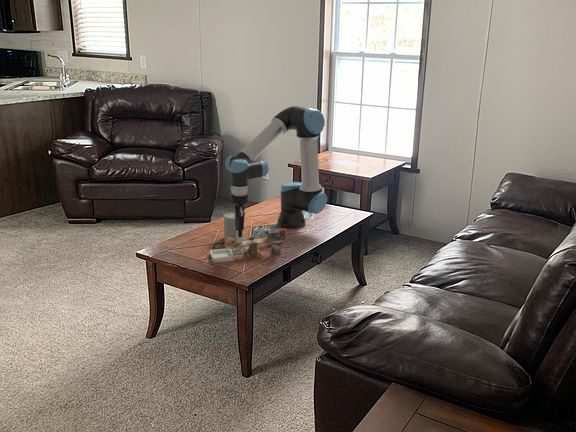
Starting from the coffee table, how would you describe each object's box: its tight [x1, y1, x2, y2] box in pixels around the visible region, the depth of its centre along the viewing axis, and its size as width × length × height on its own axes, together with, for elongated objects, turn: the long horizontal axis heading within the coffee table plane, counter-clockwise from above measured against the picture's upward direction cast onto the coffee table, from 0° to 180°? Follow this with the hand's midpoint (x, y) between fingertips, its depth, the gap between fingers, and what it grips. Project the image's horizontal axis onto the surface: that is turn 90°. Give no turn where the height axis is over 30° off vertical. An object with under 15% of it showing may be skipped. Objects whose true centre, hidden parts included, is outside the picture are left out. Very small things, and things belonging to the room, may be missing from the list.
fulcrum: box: [244, 236, 262, 259], centre depth 275 cm, size 6×8×7 cm
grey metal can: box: [223, 211, 236, 241], centre depth 294 cm, size 10×10×12 cm
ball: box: [224, 237, 233, 244], centre depth 270 cm, size 4×4×4 cm
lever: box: [224, 228, 282, 249], centre depth 273 cm, size 26×6×5 cm, turn 105°
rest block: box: [270, 244, 282, 256], centre depth 278 cm, size 3×6×2 cm, turn 16°
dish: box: [209, 248, 235, 264], centre depth 272 cm, size 10×11×2 cm
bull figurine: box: [259, 227, 287, 246], centre depth 289 cm, size 4×13×8 cm, turn 113°
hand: (239, 242), depth 272 cm, fingers closed
